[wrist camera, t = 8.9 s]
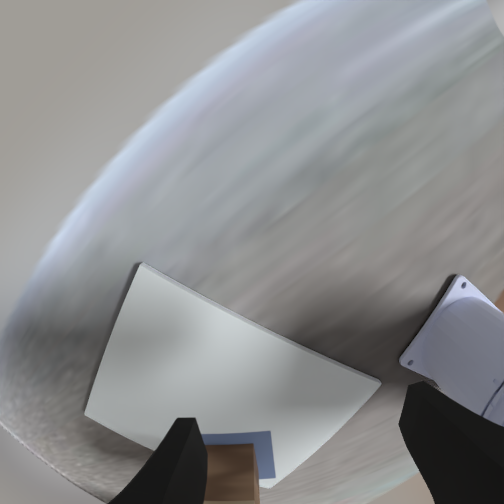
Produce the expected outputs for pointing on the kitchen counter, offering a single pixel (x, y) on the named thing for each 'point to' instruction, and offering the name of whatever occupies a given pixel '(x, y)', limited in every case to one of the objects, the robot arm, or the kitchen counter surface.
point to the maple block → (229, 502)
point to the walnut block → (232, 473)
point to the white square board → (219, 378)
